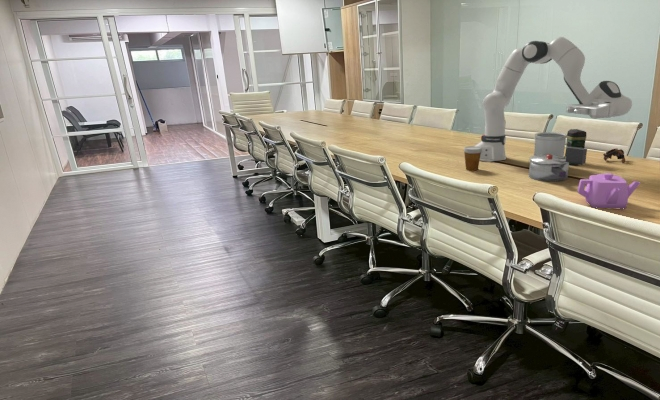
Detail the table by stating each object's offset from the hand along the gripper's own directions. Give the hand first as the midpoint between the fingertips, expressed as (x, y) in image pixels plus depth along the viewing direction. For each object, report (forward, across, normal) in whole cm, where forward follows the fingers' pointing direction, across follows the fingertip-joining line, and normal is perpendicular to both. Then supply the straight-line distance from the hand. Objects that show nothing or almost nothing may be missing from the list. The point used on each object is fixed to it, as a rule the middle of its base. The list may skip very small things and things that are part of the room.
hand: (571, 111), depth 197 cm
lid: (+4, -1, +24) cm, 24 cm away
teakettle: (+12, +38, +32) cm, 51 cm away
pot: (+7, -2, +32) cm, 33 cm away
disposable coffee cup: (+30, -34, +32) cm, 56 cm away
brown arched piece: (-45, -17, +32) cm, 58 cm away
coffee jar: (-24, -23, +32) cm, 46 cm away
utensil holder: (-7, -22, +32) cm, 40 cm away
